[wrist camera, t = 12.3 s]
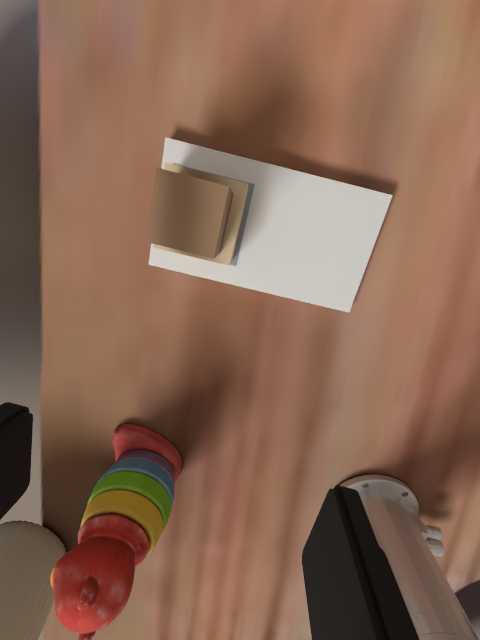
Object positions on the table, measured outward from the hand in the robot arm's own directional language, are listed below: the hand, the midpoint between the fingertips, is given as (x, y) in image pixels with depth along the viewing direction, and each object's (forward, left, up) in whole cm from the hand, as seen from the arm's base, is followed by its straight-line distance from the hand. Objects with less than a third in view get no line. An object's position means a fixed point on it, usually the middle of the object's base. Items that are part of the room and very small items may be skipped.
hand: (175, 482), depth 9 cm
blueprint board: (-2, -7, -25) cm, 26 cm away
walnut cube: (+4, -7, -20) cm, 22 cm away
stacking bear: (+6, +26, -25) cm, 37 cm away
